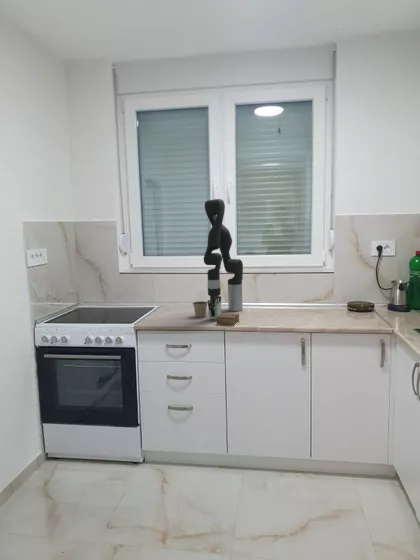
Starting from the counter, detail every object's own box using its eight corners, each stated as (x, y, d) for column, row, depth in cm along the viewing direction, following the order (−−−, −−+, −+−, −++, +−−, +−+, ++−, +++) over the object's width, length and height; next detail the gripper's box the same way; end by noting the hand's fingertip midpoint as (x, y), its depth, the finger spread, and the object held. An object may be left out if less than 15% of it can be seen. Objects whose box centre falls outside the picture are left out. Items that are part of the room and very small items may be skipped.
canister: (212, 316, 251) (212, 301, 250) (221, 316, 248) (221, 302, 247) (208, 318, 246) (208, 303, 245) (217, 319, 243) (217, 304, 242)
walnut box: (222, 321, 244) (222, 312, 244) (239, 322, 241) (239, 313, 240) (216, 325, 235) (216, 316, 234) (233, 326, 231) (233, 317, 231)
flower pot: (195, 318, 251) (194, 304, 250) (191, 315, 260) (190, 302, 259) (210, 317, 254) (209, 303, 252) (206, 314, 263) (205, 300, 261)
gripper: (213, 284, 252) (214, 312, 255) (202, 288, 240) (204, 317, 242) (224, 285, 249) (225, 313, 252) (214, 289, 236) (215, 318, 239)
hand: (215, 315), depth 247 cm, fingers closed on canister, 5 cm apart
